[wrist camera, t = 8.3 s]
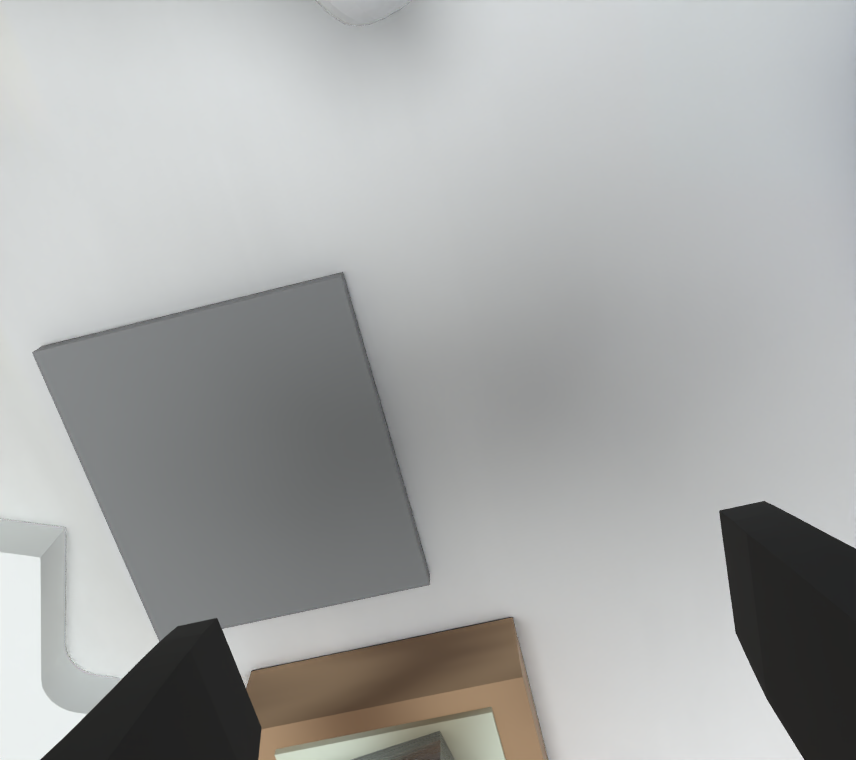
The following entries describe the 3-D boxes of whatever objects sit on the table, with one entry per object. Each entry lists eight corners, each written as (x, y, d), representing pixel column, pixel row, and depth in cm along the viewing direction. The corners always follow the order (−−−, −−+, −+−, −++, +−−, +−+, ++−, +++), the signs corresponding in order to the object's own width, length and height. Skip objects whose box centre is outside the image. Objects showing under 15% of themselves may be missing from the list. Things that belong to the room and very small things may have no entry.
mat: (342, 272, 19) (340, 276, 19) (429, 574, 22) (429, 584, 22) (41, 346, 20) (32, 352, 19) (165, 630, 23) (159, 642, 22)
